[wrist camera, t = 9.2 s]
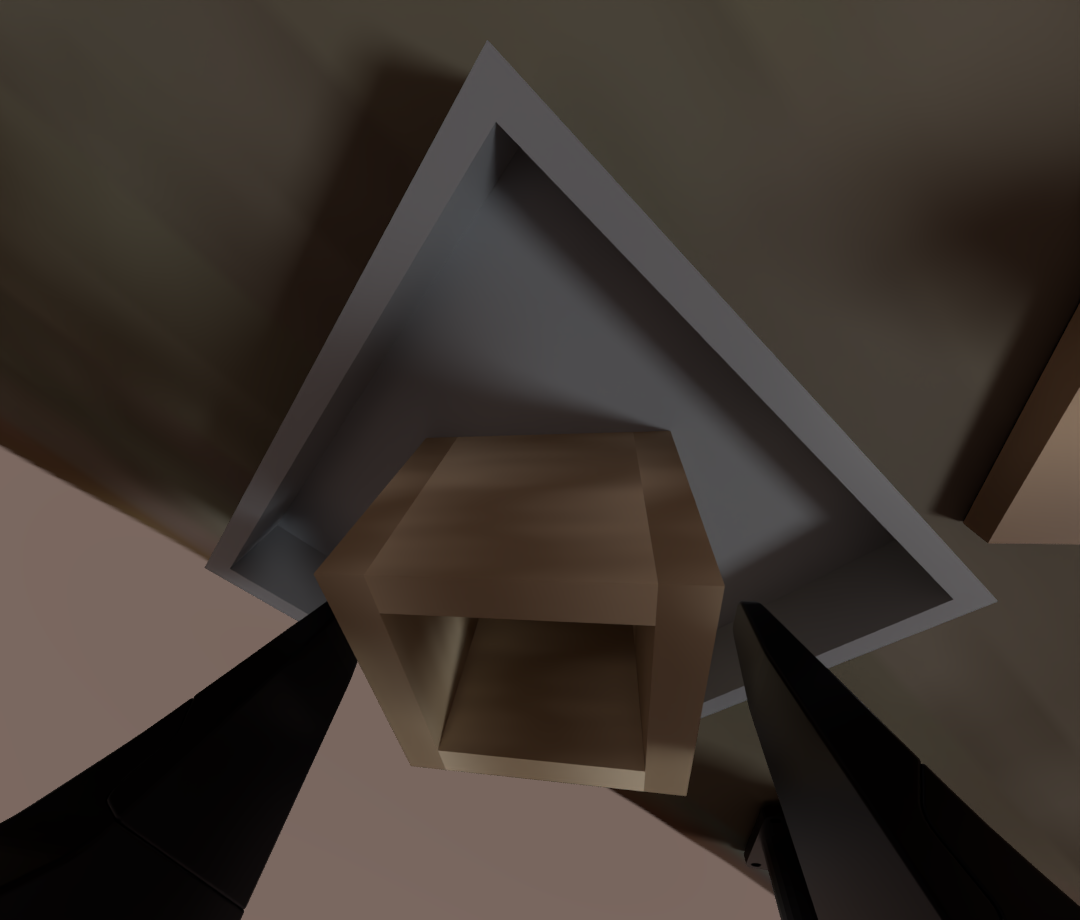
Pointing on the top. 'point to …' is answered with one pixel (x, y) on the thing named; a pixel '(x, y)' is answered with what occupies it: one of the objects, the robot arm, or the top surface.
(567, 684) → the hollow wooden box
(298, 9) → the top surface
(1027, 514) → the stake block
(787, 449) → the slate tray
